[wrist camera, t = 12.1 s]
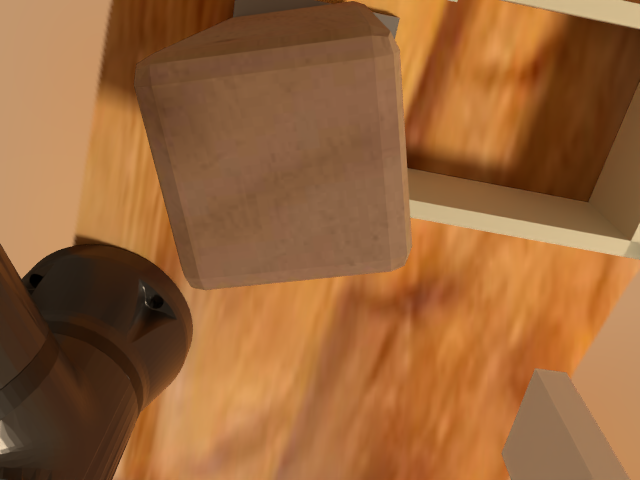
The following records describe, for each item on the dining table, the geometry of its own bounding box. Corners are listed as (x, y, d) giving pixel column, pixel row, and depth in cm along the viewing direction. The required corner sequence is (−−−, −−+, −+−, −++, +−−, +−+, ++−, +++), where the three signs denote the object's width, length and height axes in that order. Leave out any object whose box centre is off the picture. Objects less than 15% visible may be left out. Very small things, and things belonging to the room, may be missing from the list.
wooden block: (219, 18, 38) (117, 61, 20) (367, -2, 37) (400, 23, 19) (246, 160, 42) (182, 301, 24) (380, 144, 41) (416, 278, 23)
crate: (374, 177, 43) (381, 212, 37) (426, -36, 37) (445, -38, 31) (596, 218, 44) (640, 259, 38) (684, 19, 38) (754, 28, 32)
